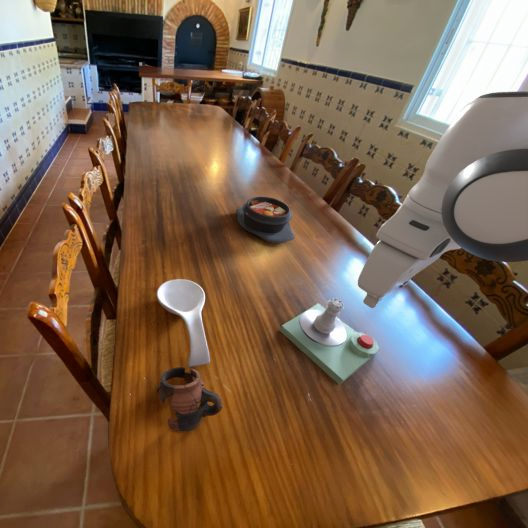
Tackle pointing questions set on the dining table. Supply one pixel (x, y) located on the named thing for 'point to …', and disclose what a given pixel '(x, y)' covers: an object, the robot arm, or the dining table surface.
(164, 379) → the pottery mug
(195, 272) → the dining table surface
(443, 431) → the dining table surface
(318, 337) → the pan
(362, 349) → the scale
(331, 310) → the rook chess piece
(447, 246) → the robot arm
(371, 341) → the tare button
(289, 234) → the casserole
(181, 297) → the spoon rest
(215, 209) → the dining table surface
